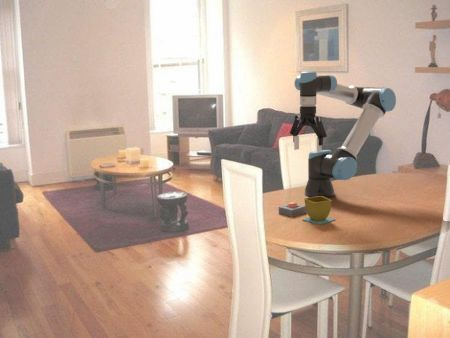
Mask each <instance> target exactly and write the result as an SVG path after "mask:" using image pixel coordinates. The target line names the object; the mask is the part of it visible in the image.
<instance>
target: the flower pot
mask: <svg viewBox="0 0 450 338" xmlns="http://www.w3.org/2000/svg"><path fill="white" fill-rule="evenodd" d="M332 202H333V201H332V199H330V198H328V197H323V196H318V197H305V198H304V206H305V207H306V214H307V215H308V218H309V217H310V218H311V219H313V220H315V221H318V220H325V219H326V218H327V217H328V218H329V215H330V212H331V209H332Z"/></svg>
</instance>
